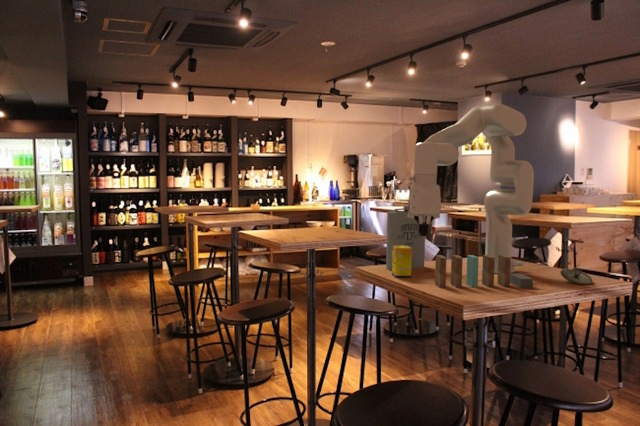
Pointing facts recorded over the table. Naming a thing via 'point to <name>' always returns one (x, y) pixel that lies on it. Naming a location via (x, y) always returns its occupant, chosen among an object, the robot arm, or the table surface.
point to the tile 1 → (440, 271)
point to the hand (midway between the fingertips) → (422, 235)
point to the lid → (576, 276)
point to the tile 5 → (504, 270)
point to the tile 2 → (456, 271)
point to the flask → (404, 237)
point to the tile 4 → (488, 270)
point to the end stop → (521, 281)
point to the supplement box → (401, 261)
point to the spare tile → (472, 271)
